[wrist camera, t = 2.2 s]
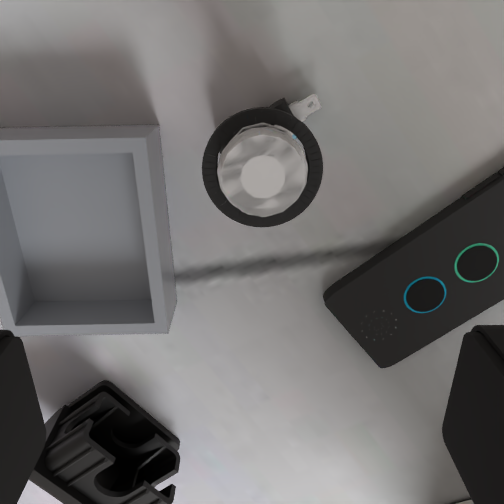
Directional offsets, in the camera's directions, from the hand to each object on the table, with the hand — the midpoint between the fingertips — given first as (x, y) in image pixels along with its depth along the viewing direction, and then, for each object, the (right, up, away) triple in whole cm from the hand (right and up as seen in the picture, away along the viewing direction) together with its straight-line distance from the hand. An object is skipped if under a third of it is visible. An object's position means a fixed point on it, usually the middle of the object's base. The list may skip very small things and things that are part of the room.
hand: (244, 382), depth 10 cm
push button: (+1, +11, +19) cm, 21 cm away
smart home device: (+15, +3, +23) cm, 28 cm away
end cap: (-11, -12, +29) cm, 34 cm away
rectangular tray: (-11, +5, +21) cm, 24 cm away
